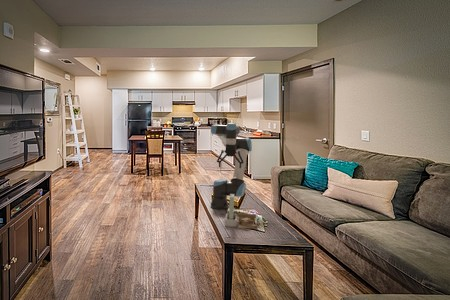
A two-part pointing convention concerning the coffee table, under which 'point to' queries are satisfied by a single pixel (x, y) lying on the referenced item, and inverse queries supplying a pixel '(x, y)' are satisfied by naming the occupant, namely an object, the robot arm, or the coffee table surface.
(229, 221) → the bin
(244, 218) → the offcut oak
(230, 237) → the coffee table surface
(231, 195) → the grey-green flat block
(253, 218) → the rack
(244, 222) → the offcut walnut
